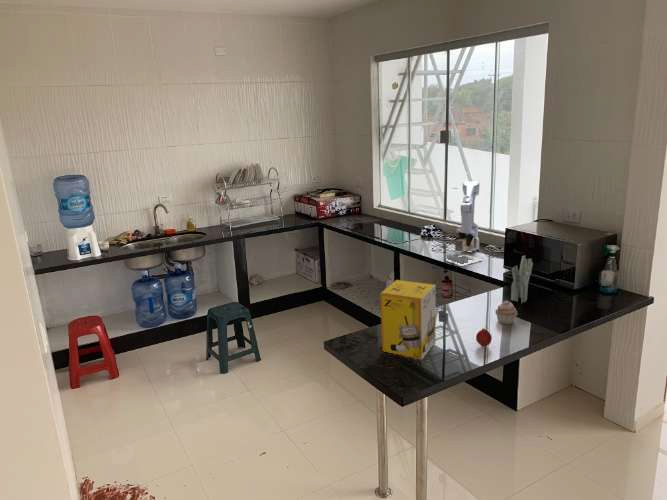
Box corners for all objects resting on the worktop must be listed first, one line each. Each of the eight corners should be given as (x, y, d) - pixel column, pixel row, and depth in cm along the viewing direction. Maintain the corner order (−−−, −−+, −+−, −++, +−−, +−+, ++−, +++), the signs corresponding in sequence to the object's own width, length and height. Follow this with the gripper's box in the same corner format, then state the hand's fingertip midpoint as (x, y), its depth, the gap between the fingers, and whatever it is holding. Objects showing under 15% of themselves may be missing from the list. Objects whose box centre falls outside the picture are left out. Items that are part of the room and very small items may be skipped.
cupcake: (507, 328, 210) (508, 306, 207) (490, 321, 218) (490, 299, 215) (522, 322, 214) (523, 301, 211) (504, 315, 222) (505, 294, 219)
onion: (479, 341, 200) (480, 323, 197) (493, 345, 196) (494, 326, 194) (473, 347, 195) (473, 328, 193) (487, 351, 192) (488, 332, 190)
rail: (471, 246, 304) (471, 236, 302) (476, 247, 301) (476, 237, 299) (455, 250, 298) (455, 240, 297) (459, 251, 295) (459, 241, 293)
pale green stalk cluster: (520, 311, 226) (522, 269, 220) (504, 308, 229) (506, 267, 224) (533, 291, 248) (535, 252, 242) (518, 289, 251) (520, 251, 246)
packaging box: (422, 360, 188) (421, 299, 181) (382, 352, 196) (380, 293, 189) (435, 342, 202) (435, 284, 195) (398, 335, 209) (396, 279, 202)
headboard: (465, 256, 309) (465, 249, 308) (481, 261, 297) (482, 254, 296) (445, 261, 302) (445, 254, 301) (461, 266, 290) (461, 259, 289)
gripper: (452, 222, 300) (452, 243, 303) (469, 226, 287) (469, 249, 291) (461, 220, 303) (461, 241, 306) (479, 224, 290) (478, 246, 294)
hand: (466, 245), depth 299 cm, fingers closed on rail, 4 cm apart
